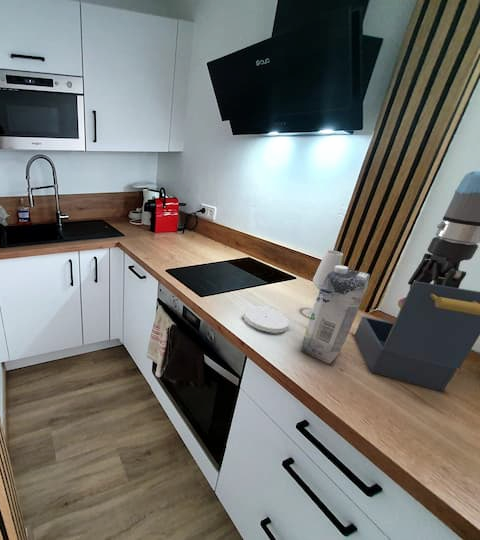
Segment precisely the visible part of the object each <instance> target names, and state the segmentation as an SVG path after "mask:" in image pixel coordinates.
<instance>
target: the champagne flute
mask: <svg viewBox="0 0 480 540" xmlns="http://www.w3.org/2000/svg"><path fill="white" fill-rule="evenodd" d="M343 257H344V253H343V252H340V251H337V250H333V249H332V250H330V249H327V250H325V252H324V254H323V257H322V259H321V260H320V263H319V265H318V267H317V270H316V272H315V274H314V276H313V278H312V283H313V286H314V287H315V288H316V289H317V294H316V298H315V301H314V303H313V306H312V308H306V309H305V308H304V309H302V311H301V312H302V314H303V315H304V316H305V317H307V318H309V319H310V318H311V315H312V312H313V309H314V306H315V303H316V300H317V298H318V295H319V292H320V289H321V286H322V284H323V282H324V280H325V278H326V277H327V275H328V274H329V273H330V272H332V271H333V269H334V268H335V266H337V265H339V266H341V265H342V260H343Z"/></svg>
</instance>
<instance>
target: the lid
mask: <svg viewBox="0 0 480 540" xmlns="http://www.w3.org/2000/svg"><path fill="white" fill-rule="evenodd" d="M410 286H411V285H410ZM405 297H406V299H405V301H404V303H403V305H402V307H401V309H400V308H399V312H398V314H397V316H396V318H395V320H394V322H393V323H394V324H393V326H392V329H391V331H390V333H389V335H388V337H387V339H386V342H385V344H384V346H383V348H382V349H383V350H384V351H388V352H393V353H397V354H401V355H405V356H409V357H413V358H417V359H421V360H425V361H429V362H434V363H438V364H442V365H446V366H450V367H454V368H457V370H458V369H460V368H461V367H462V365H464V362H465V360H466V359H467V357H468V356H469V354H470V352H471V350H472V349H473V347H474V346H475V344H476V342H477V341H478V339H479V337H480V291H479V290H478V291H477V290H473V289H472V290H471V289H466V288H460V287H459V288H454V287H448V286H442V285H436V284H433V283H423V282H417V281H415V280H414V281H413V284H412V286H411V288H410V287H409V290H408V292H407V295H406V296H405Z"/></svg>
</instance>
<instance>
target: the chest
mask: <svg viewBox="0 0 480 540" xmlns="http://www.w3.org/2000/svg"><path fill="white" fill-rule="evenodd" d="M393 324H394V322H391V321H386V320H381V319H377V318H372V317H367V316H362V317H361V319H360V321H359V323H358V325H357V328H356V330H355V333H354V338H355V340H356V343H357V344H358V347H359V349H360V351H361V354H362V356H363V357H364V360H365V362H366V364H367V366H368V368H369V371H370V373H373V374H377V375H381V376H384V377H387V378H388V377H389V378H391V379H395V380H399V381H401V382H402V381H403V382H406V383H408V384H409V383H410V384H413V385H417V386H421V387H424V388H428V389H432V390H436V391H439V392H444V391H445V389H446V387H447V386H448V385H449V383H450V382H451V380H452V379H453V377H454V375H455V374H456V372H457V371H458V368H454V367H450V366H446V365H442V364H438V363H434V362H429V361H425V360H421V359H417V358H413V357H409V356H405V355H401V354H397V353H393V352H388V351H384V350H383V349H382V348H383V346H384V344H385V342H386V339H387V337H388V335H389V333H390V331H391V329H392V326H393Z"/></svg>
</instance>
